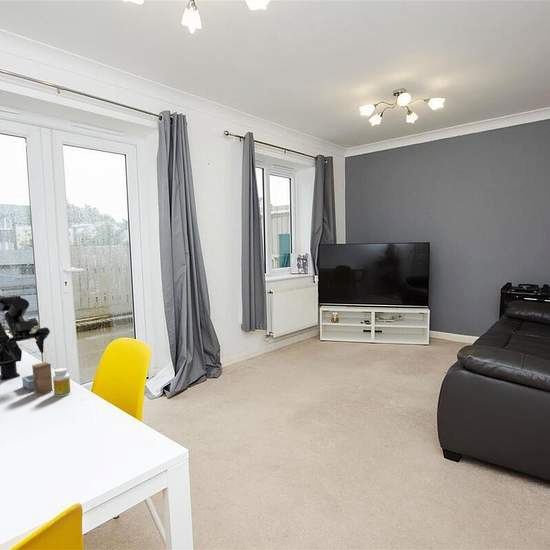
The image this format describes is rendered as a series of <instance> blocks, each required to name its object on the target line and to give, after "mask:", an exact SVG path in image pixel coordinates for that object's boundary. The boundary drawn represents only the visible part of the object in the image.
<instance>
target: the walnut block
mask: <svg viewBox="0 0 550 550" xmlns="http://www.w3.org/2000/svg"><path fill="white" fill-rule="evenodd" d="M31 368H32V375H33V380H34V390H33V391H34V394H37V395H38V396H43V395H46V394H49V393H52V392H54V389H53V382H52V381H53V379H52V378H53V377H52V367H51V363H49V362H46V361H44V362H40V363H36V364H32V367H31ZM51 391H52V392H51ZM48 392H49V393H48Z"/></svg>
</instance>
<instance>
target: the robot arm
mask: <svg viewBox="0 0 550 550" xmlns="http://www.w3.org/2000/svg"><path fill="white" fill-rule="evenodd" d="M29 307H30V302H29V301H28V300H27V299H25V298H23V297H21V295H14V296H13V295H12V296H11V295H10V296H4V295H1V294H0V312H5V314H4V321H5V322H6V323H7V327H8V333H11V336H12V337H10V336H9V335H8V334H7V332H6V330H5V328H4V325H3V324H2V323H1V321H0V380H1V381H5V380H8V379H13V378H17V377H20V376H21V375H20V374H19V372H18V370H17V369H18V368H17V362H21V361H22V353H23V350H22V348H21V347H20V345H18V343H17V342H20V341H25V340H31V339H34V340H35V344H36V346H37V347H38V350H39V352H40V353H41V354H44V344H45V343H44V341H45V339H47V338H48V336H49V334H50V333H51V331H50V328H49V327H41V328H37V330H36V331H35V332H33V331H32V330H33V329H35V327H38V325H39V321H38V320H37V317H33V318H30V319H29V320H25V319H24V316H25V314H26V312H27V310H28V308H29Z"/></svg>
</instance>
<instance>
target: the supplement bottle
mask: <svg viewBox="0 0 550 550" xmlns="http://www.w3.org/2000/svg"><path fill="white" fill-rule="evenodd" d="M52 378H53V379H52V381H53V382H52V384H53V395H54V397H57V398H61V396H62V397H66V396H68V395H70V394H69V393H71V381H70V380H71V379H70V374H69V373H68V369H67V368H66V367H60V368H56V369H55V370H54V376H53V377H52ZM65 395H66V396H65Z"/></svg>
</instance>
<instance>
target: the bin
mask: <svg viewBox="0 0 550 550" xmlns="http://www.w3.org/2000/svg"><path fill="white" fill-rule="evenodd" d="M21 379H22V380H21V381H22V388H24V389H25V390H26V391H27V392H32V391H34V380H33V374H31V375H30V374H29V375H26V376H22V378H21Z"/></svg>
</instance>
